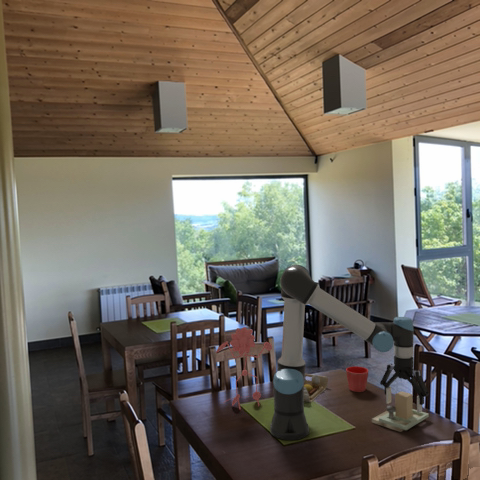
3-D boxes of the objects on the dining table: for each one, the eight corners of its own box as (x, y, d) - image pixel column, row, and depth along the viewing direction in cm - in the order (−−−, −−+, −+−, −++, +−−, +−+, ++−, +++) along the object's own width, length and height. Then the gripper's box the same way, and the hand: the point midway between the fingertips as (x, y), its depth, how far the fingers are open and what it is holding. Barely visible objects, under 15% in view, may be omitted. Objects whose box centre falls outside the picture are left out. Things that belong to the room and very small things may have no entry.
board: (371, 422, 201) (371, 405, 200) (395, 409, 213) (394, 394, 212) (400, 432, 191) (400, 414, 191) (423, 418, 203) (423, 402, 203)
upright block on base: (378, 421, 198) (378, 396, 198) (402, 408, 210) (401, 385, 210) (406, 430, 189) (406, 404, 189) (428, 416, 201) (428, 392, 201)
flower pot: (371, 387, 241) (371, 367, 240) (364, 394, 231) (364, 374, 231) (350, 384, 246) (350, 364, 246) (343, 391, 237) (342, 371, 236)
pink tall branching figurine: (277, 403, 223) (274, 327, 222) (223, 413, 214) (219, 333, 213) (263, 393, 237) (261, 321, 236) (212, 402, 228) (209, 327, 227)
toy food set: (295, 382, 253) (294, 367, 252) (328, 387, 243) (328, 372, 243) (272, 398, 231) (272, 382, 230) (308, 405, 222) (308, 388, 221)
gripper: (437, 360, 192) (437, 413, 193) (381, 348, 210) (381, 396, 211) (428, 364, 187) (428, 419, 188) (371, 351, 205) (371, 401, 206)
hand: (403, 407), depth 200 cm, fingers open, 13 cm apart
